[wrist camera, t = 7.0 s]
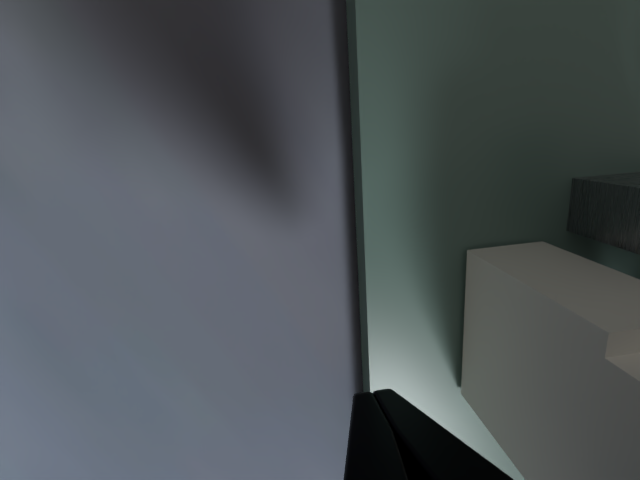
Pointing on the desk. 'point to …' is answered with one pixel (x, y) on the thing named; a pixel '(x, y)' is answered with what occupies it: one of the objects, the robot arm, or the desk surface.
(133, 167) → the desk surface
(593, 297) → the white block
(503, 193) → the board
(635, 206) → the grey rail mechanism
